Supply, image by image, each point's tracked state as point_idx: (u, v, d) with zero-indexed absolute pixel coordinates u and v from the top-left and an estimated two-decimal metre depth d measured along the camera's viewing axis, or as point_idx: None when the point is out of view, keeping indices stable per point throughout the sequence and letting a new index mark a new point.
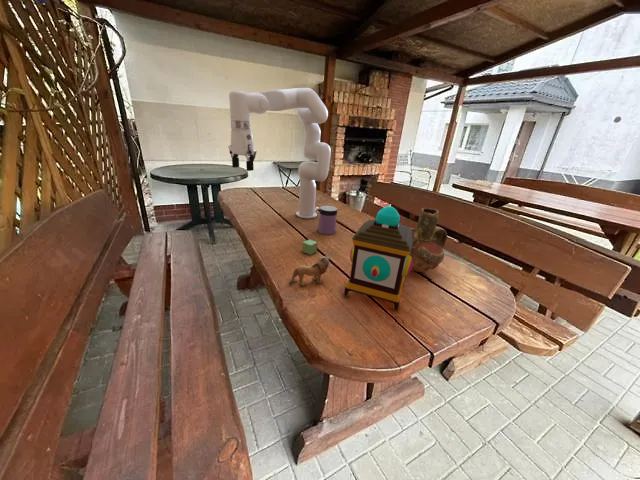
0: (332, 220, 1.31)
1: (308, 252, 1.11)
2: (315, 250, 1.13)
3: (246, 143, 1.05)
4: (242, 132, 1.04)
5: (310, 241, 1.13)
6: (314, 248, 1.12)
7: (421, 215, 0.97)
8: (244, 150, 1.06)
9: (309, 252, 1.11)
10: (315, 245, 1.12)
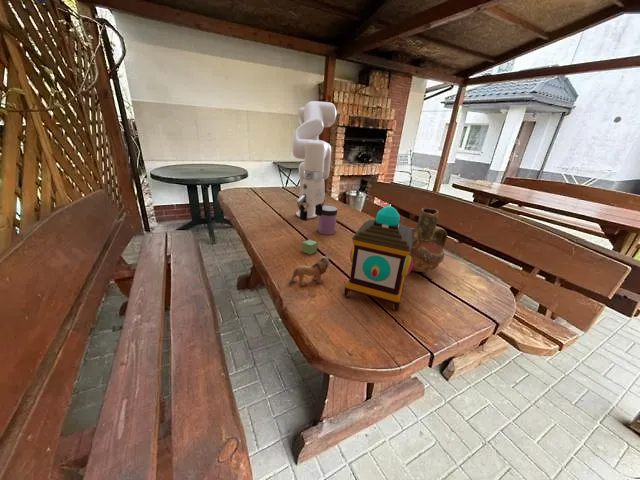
0: (332, 220, 1.31)
1: (308, 252, 1.11)
2: (315, 250, 1.13)
3: (302, 192, 1.00)
4: None
5: (310, 241, 1.13)
6: (314, 248, 1.12)
7: (421, 215, 0.97)
8: None
9: (309, 252, 1.11)
10: (315, 245, 1.12)
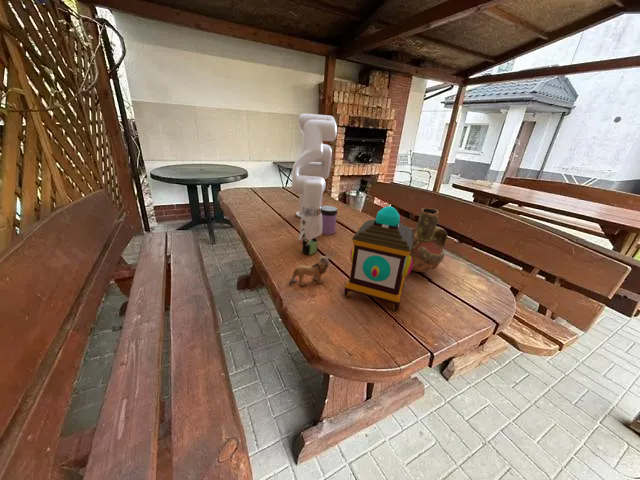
0: (332, 220, 1.31)
1: None
2: (315, 250, 1.13)
3: (300, 227, 1.06)
4: None
5: (310, 241, 1.13)
6: (314, 248, 1.12)
7: (421, 215, 0.97)
8: None
9: (309, 252, 1.11)
10: (315, 245, 1.12)
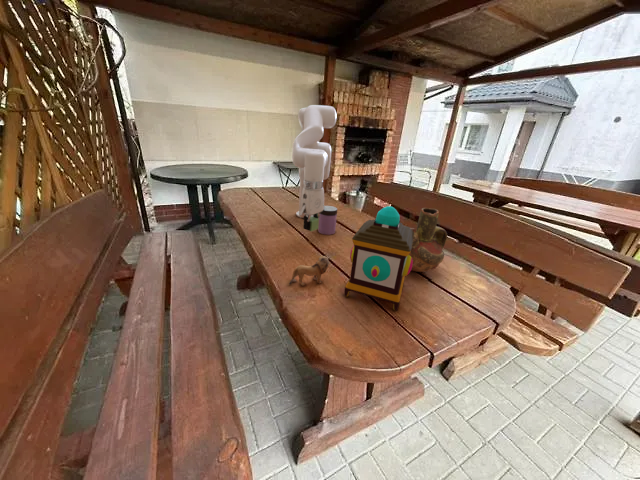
0: (332, 220, 1.31)
1: None
2: (316, 227, 1.10)
3: (302, 201, 1.02)
4: None
5: (311, 217, 1.09)
6: (315, 225, 1.08)
7: (421, 215, 0.97)
8: None
9: (310, 229, 1.07)
10: (317, 222, 1.08)
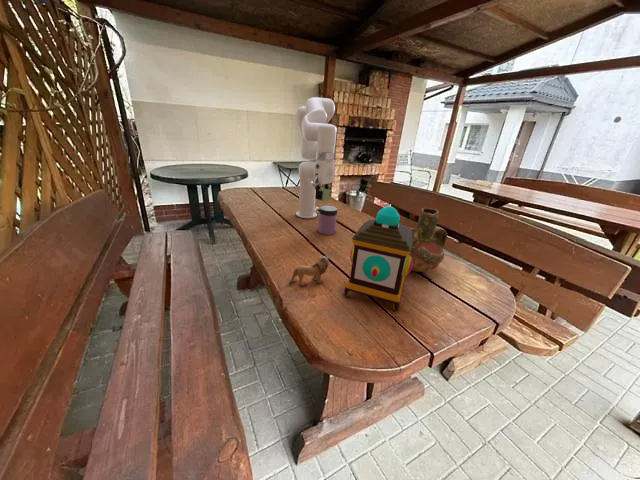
0: (332, 220, 1.31)
1: None
2: (327, 197, 1.18)
3: (314, 171, 1.10)
4: None
5: (323, 188, 1.17)
6: (327, 195, 1.17)
7: (421, 215, 0.97)
8: None
9: (322, 198, 1.15)
10: (328, 192, 1.17)
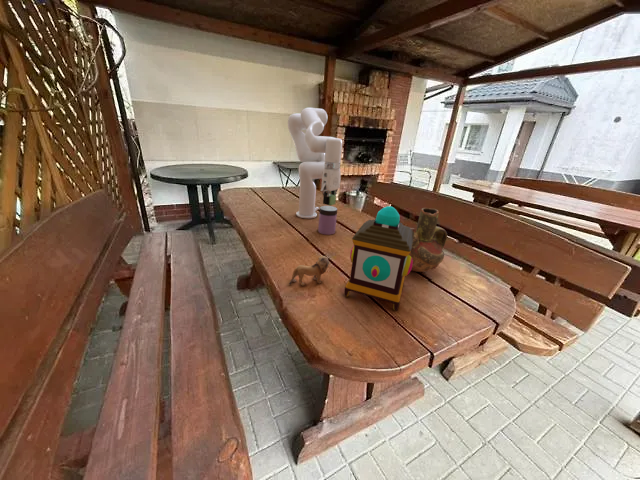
0: (332, 220, 1.31)
1: None
2: (334, 202, 1.31)
3: (322, 179, 1.24)
4: None
5: (330, 194, 1.30)
6: (333, 200, 1.30)
7: (421, 215, 0.97)
8: None
9: (329, 203, 1.28)
10: (334, 197, 1.30)
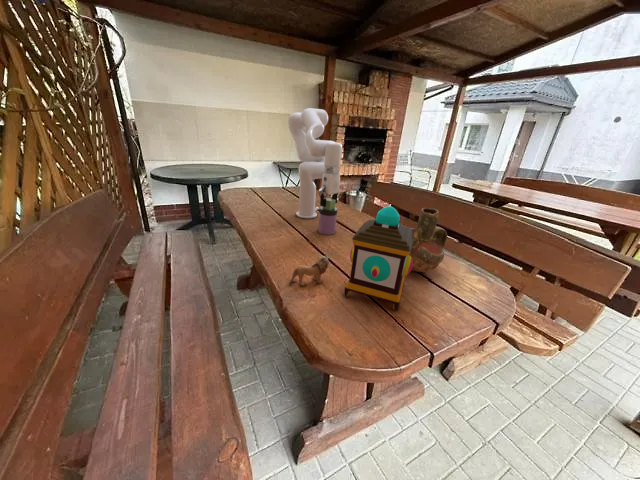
0: (332, 220, 1.31)
1: (328, 208, 1.30)
2: (333, 207, 1.32)
3: (322, 183, 1.24)
4: None
5: (329, 199, 1.31)
6: (333, 205, 1.31)
7: (421, 215, 0.97)
8: None
9: (329, 208, 1.29)
10: (334, 202, 1.31)
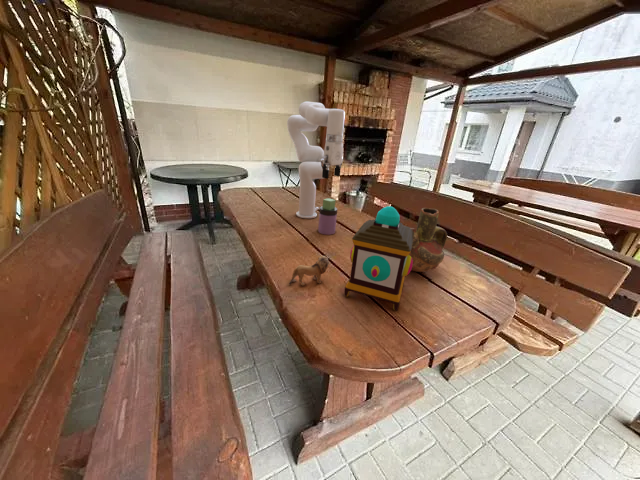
0: (332, 220, 1.31)
1: (328, 208, 1.30)
2: (333, 207, 1.32)
3: (324, 153, 1.19)
4: None
5: (329, 199, 1.31)
6: (333, 205, 1.31)
7: (421, 215, 0.97)
8: None
9: (329, 208, 1.29)
10: (334, 202, 1.31)
